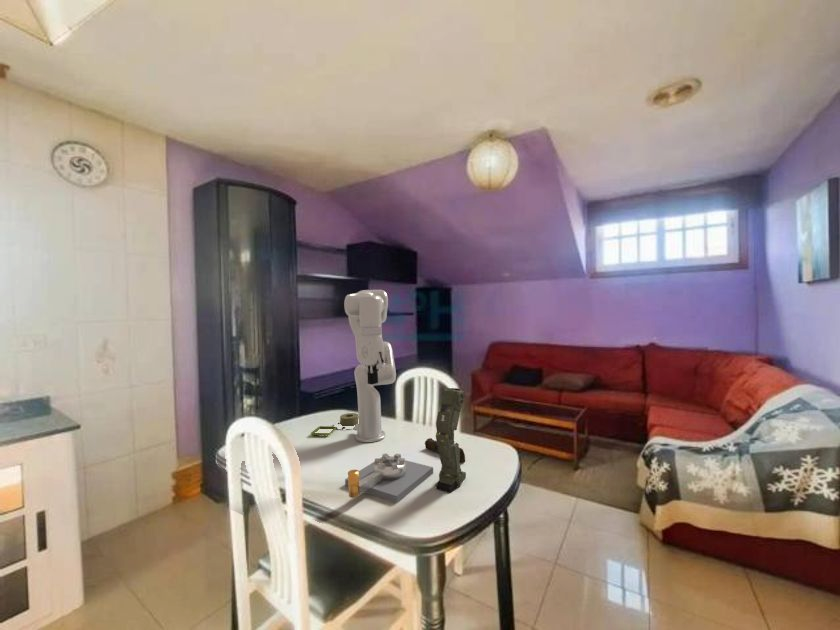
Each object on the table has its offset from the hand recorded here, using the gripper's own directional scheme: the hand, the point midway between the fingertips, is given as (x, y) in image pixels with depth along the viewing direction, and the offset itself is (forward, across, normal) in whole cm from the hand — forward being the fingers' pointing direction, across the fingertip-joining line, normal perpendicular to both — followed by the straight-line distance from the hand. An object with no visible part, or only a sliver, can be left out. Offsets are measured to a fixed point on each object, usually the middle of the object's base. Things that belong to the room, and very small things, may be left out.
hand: (372, 383), depth 122 cm
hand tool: (+29, +13, +23) cm, 39 cm away
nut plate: (+28, +13, -3) cm, 31 cm away
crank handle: (+26, +15, -9) cm, 31 cm away
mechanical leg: (+28, +28, +10) cm, 41 cm away
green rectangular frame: (+31, -42, 0) cm, 52 cm away
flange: (+31, -44, +14) cm, 56 cm away
